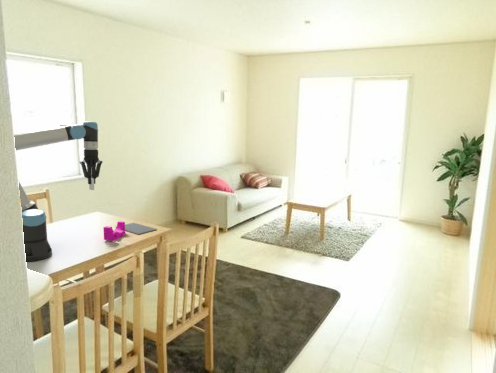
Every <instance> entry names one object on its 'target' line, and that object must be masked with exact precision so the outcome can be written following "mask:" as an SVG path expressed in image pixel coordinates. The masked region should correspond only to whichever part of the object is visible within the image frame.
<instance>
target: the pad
mask: <svg viewBox="0 0 496 373" xmlns="http://www.w3.org/2000/svg"><path fill="white" fill-rule="evenodd" d="M157 230H158V229H157V228H154V227H151V226H147V225H143V224H139V223H135V222H131V223H125V232H128V233H132V234H135V235H143V234H146V233H151V232H153V231H157Z"/></svg>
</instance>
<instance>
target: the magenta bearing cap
mask: <svg viewBox="0 0 496 373" xmlns="http://www.w3.org/2000/svg"><path fill="white" fill-rule="evenodd" d="M125 225H126V222H125V221H123V220H122V221H121V220H120V221H117V224H116V226H115V229H113V227H112V226H109V225H108V226H104V227H103V241H109V242H115V241H116V240H118V239H121V238H122V237H124V236H125V234H126V231H125Z"/></svg>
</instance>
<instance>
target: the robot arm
mask: <svg viewBox="0 0 496 373" xmlns="http://www.w3.org/2000/svg"><path fill="white" fill-rule="evenodd" d="M13 135H14V137H15V148H16V151H21V150H26V149H31V148H32V149H33V148H36V147H42V146H48V145H51V144H53V145H54V144H57V143H62V142H68V141H73V140H74V141H75V140H81V139H83V149H84V150H83V156H84V157H83V159H82V160H81V161H79V164H80V166H81V169H82V174H83V176H84V178H86V179H87V184H88V187H89V191H90V190H91V191H95V185H96V179H97V178H99V176H100V173H101V167H102V164H103V160H100V158H99V128H98V123H97V122H96V121H83V123H82V124H78V123H75V124H72V123H71V124H69V123H61V124H60V125H59V127H52V128H46V129H41V130H35V131H34V130H33V131H27V132H22V133H16V134H13ZM19 190H20V199H21V207H22V218H23V232H24V244H25V253H26V261H25V262H34V261H41V260H45V259H47V258H49V257H51V256H52V255H53V250H52V247H51V244H50V243H49V241H48V231H47V230H48V229H47V215H46V212H45V211H44V210H42V209H39V208H38V206H37V204H36V202H35V201H32V200H30V198H29V196H28V195H27V193H26V191H25V189H24V188H23V186H22V184H21V182H20V181H19Z"/></svg>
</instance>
